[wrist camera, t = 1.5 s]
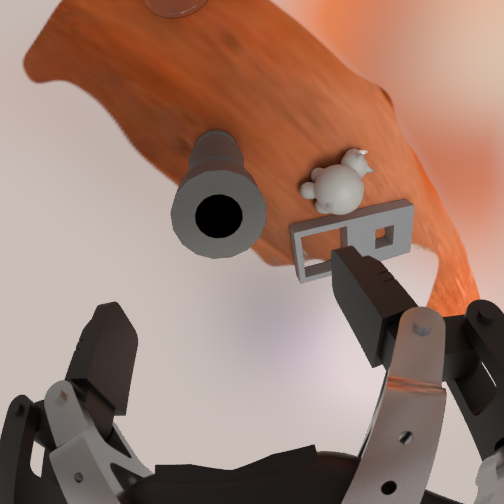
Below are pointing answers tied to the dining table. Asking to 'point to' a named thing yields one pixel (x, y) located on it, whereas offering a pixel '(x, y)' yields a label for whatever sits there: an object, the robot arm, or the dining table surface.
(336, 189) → the toy rhinoceros
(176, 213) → the candle holder
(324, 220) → the hole board
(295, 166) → the dining table surface
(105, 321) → the robot arm
